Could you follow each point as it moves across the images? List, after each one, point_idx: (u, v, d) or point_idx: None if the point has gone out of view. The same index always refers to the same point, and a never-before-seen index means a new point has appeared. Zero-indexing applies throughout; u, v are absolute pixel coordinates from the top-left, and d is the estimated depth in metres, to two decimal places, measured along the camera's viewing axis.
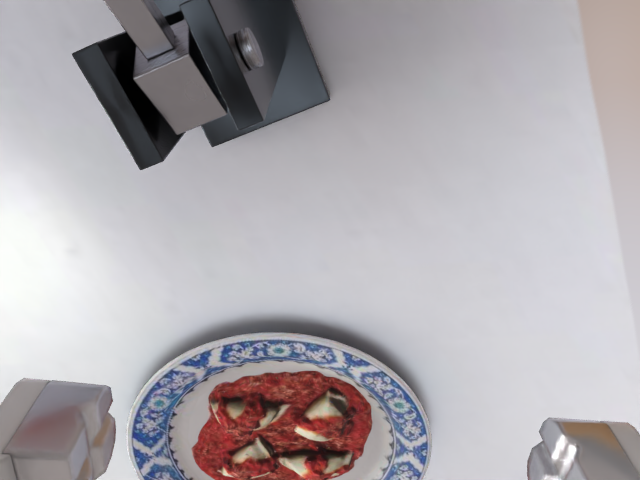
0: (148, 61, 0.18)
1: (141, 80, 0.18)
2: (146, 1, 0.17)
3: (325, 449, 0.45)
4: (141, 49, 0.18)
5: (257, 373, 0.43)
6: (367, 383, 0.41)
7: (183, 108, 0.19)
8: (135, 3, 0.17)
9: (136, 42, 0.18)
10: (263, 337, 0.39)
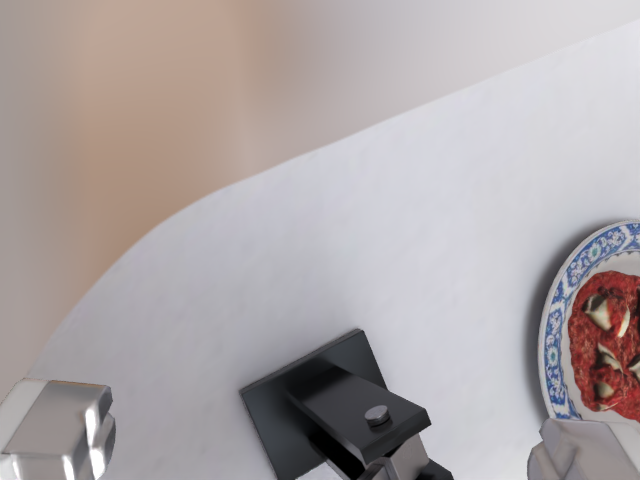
0: None
1: None
2: None
3: (636, 309, 0.53)
4: None
5: (571, 371, 0.51)
6: (577, 280, 0.50)
7: (416, 458, 0.30)
8: None
9: None
10: (542, 370, 0.48)
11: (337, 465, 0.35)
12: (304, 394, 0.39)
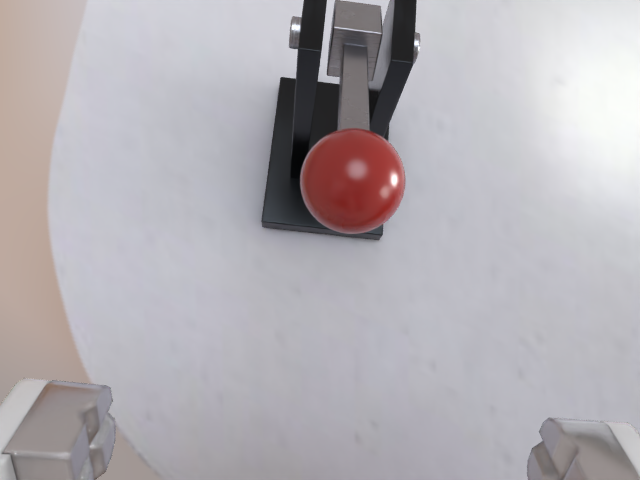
0: (366, 44, 0.23)
1: (377, 30, 0.23)
2: (341, 68, 0.23)
3: None
4: (365, 51, 0.23)
5: None
6: None
7: (362, 12, 0.24)
8: (348, 65, 0.22)
9: (365, 54, 0.23)
10: None
11: None
12: None
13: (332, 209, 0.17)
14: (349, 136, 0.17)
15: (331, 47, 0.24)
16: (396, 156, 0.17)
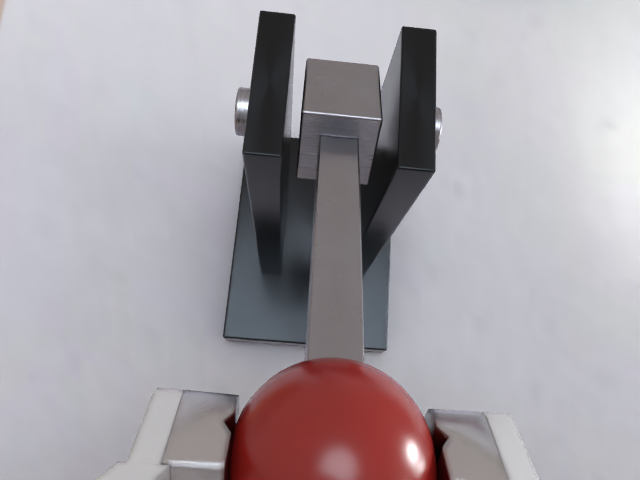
0: (356, 135, 0.14)
1: (373, 114, 0.14)
2: (316, 181, 0.14)
3: None
4: (355, 148, 0.14)
5: None
6: None
7: (350, 79, 0.15)
8: (327, 180, 0.13)
9: (356, 154, 0.14)
10: None
11: None
12: None
13: None
14: (320, 412, 0.08)
15: (300, 140, 0.15)
16: (420, 439, 0.08)
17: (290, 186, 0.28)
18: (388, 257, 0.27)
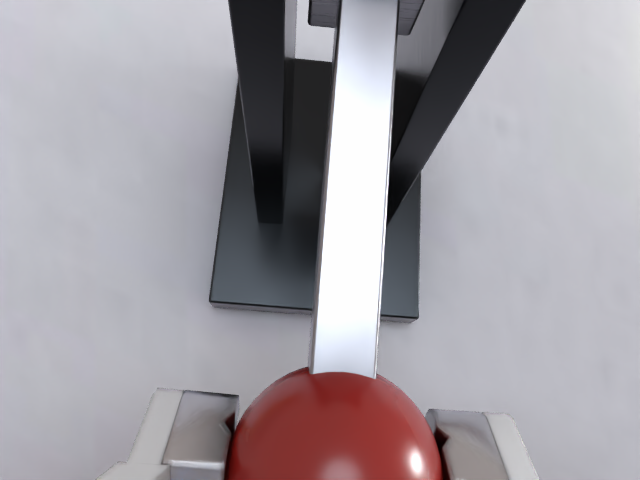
0: None
1: None
2: (333, 73, 0.10)
3: None
4: (394, 8, 0.09)
5: None
6: None
7: None
8: (347, 78, 0.09)
9: (393, 22, 0.09)
10: None
11: None
12: None
13: None
14: None
15: None
16: None
17: (294, 116, 0.22)
18: (418, 203, 0.21)
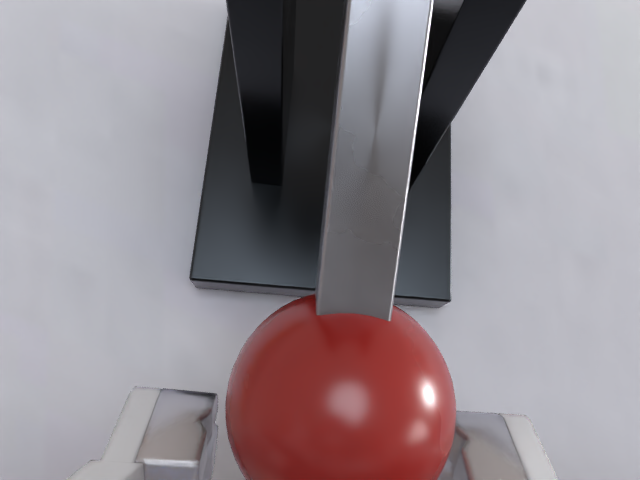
0: None
1: None
2: None
3: None
4: None
5: None
6: None
7: None
8: None
9: None
10: None
11: (426, 81, 0.11)
12: None
13: None
14: (320, 465, 0.07)
15: None
16: (437, 458, 0.07)
17: (296, 56, 0.18)
18: (449, 161, 0.17)
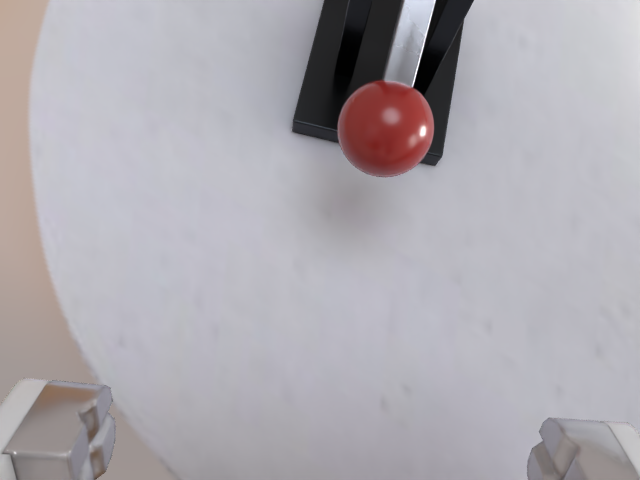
0: None
1: None
2: None
3: None
4: None
5: None
6: None
7: None
8: None
9: None
10: None
11: (443, 10, 0.22)
12: None
13: (357, 168, 0.20)
14: (380, 123, 0.18)
15: None
16: (423, 137, 0.19)
17: None
18: (453, 80, 0.29)
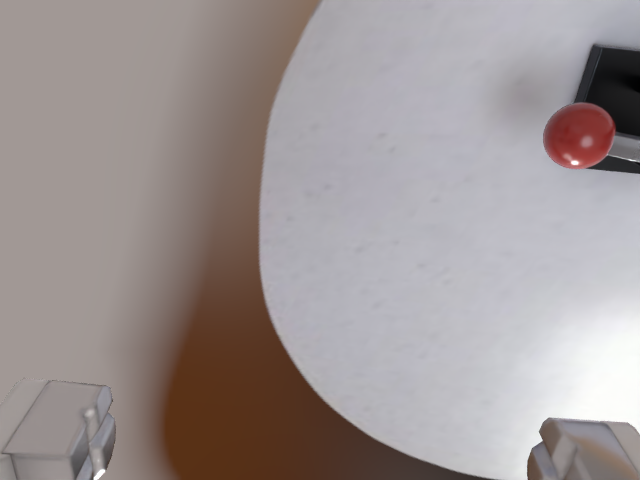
0: None
1: None
2: None
3: None
4: None
5: None
6: None
7: None
8: None
9: None
10: None
11: None
12: None
13: (550, 118, 0.29)
14: (580, 136, 0.27)
15: None
16: (569, 163, 0.28)
17: None
18: (626, 171, 0.37)
